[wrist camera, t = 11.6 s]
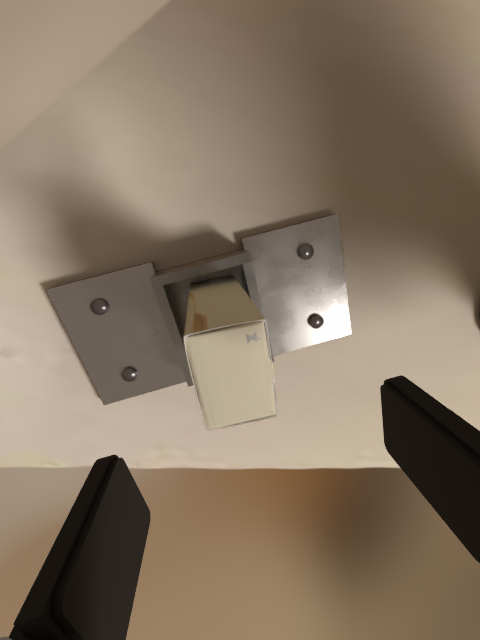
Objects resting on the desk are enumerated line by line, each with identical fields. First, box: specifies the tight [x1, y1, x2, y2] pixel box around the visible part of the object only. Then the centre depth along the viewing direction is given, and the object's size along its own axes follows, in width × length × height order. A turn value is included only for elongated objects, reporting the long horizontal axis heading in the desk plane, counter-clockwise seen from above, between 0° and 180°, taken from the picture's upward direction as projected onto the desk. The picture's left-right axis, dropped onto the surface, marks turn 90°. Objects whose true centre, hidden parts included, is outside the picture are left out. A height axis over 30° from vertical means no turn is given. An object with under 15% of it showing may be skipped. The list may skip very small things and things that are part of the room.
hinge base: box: [46, 214, 351, 405], centre depth 24 cm, size 26×12×4 cm, turn 104°
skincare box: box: [183, 277, 278, 431], centre depth 19 cm, size 6×4×12 cm
